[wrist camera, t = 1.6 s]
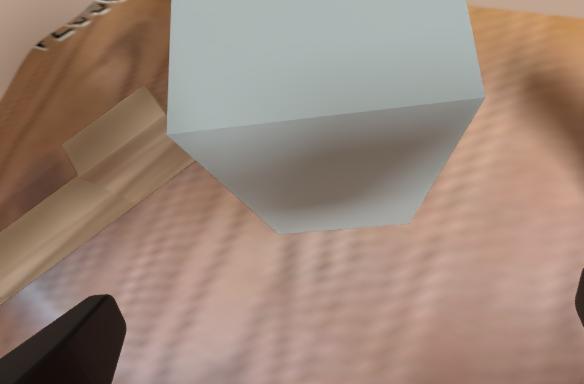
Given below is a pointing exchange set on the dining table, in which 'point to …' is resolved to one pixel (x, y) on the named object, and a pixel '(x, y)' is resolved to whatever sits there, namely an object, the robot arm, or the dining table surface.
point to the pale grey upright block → (322, 103)
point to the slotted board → (93, 187)
